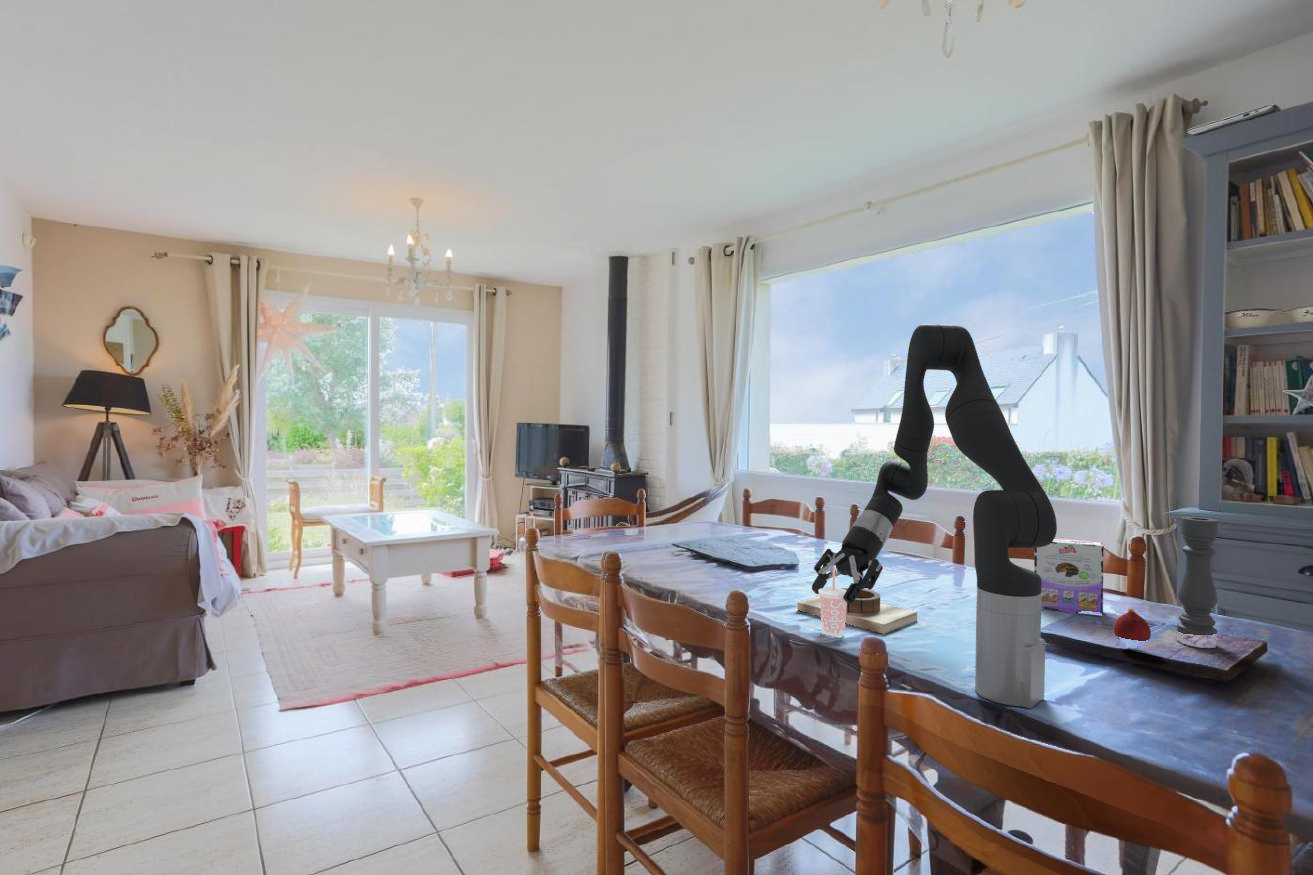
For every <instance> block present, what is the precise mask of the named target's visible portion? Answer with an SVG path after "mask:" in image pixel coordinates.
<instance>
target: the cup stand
mask: <svg viewBox="0 0 1313 875" xmlns="http://www.w3.org/2000/svg"><path fill="white" fill-rule="evenodd" d="M848 588H849V587H841V589H845V590H847V589H848ZM796 606H797V610H800V611H803V612H802V613H804V612H807V613H806V614H808V613H810V614H809V615H811V614H814V615H813V616H815V615H817V616H816V617H819V616H821V608H820V595H818V596H813V597H810V598H808V599H805V600H804V599H803V600H800V601H797V605H796ZM800 611H799V612H800ZM914 622H918V611H916V610H911V609H908V608H903V607H898V606H894V605H890V604H885V603H882V602H881V593H878V592H876V591H874V590H872V589H871V590H868V589H867V588H865V589H863V590H861V591H860V592H859V594H858V596H857V597H856V599H855V600H854V601H853V602H852V603H851V604H848V603H847V609H846V624H845V625H849V624H850V625H849V626H852V625H854V626H853V627H856V626H858V627H857V628H860V627H861V629H864V628H865V629H864V630H867V629H871V630H873V631H872V632H875V631H876V633H880V634H883V635H886V634H888V633H890V632H893V631H896V630H897V629H900V628H903V627H905V626H908V625H910V624H912V623H914ZM871 630H870V631H871Z"/></svg>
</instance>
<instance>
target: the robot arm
mask: <svg viewBox="0 0 1313 875" xmlns="http://www.w3.org/2000/svg"><path fill="white" fill-rule="evenodd" d="M908 344H909V345H908V348H907V349H908V351H907V356H906V357H907V358H906V369H905V378H904V379H905V380H904V388H903V389H904V390H903V399H902V400H903V401H902V409H901V410H902V411H901V417H900V421H899V425H898V429H897V432H896V438H895V441H894V445H893V452H894V454H895V455H896V456H897V457H898V458H900V459H901V460H903V461H905V463H903V462H901V461H898V460H888V461H886V462H885V463H883V464H882V465H881V466H880V469H879V471H878V475H877V480H876V484H875V488H874V491H873V494H872V495H871V498H870V500H869V502H868V503H867V504H866V506H865V507H864V508H863V511H862V512H861V514H860V515H859V516H858V517H857V518H856V519H855V521H854V523H853V525H852V526H851V527H850V529H849V530H848V533H847V534H846V535H845V537H844V539H843V540H842V543H841V549H839V551H838V552H835V551H832V549H831V548H827V549H825V551H824V552H823V554H822V555H821V556H820V558H819V559H818V561H817V563H816V564H815V565H814V567H813V570H814V572H815V573H816V574H817V576H816V578H815V580H814V581H813V583H812V585H811V590H812V592H814V594H816V595H819V591H818V590H819V589H821V588H825V586H826V585H827V583H828V581H829V580H830V579H833V567H835V578H836V577H839V576H840V575H841V576H848V577H849V578H852V581H853V582H851V583H850V585H849V586H848V587H847V588H848V589H847V591H846V593H845V594H844V596H843V599H844V600H845V601H846V603H848V604H851V603H852V602H853V601H854V600H855V599H856V597H857V596H858V594H859V592H860V591H861V590H863V589H867V590H871V591H872V590H873V588H874V587H875V584H876V583H877V581H878V579H879V577H880V575H881V573H882V571H883V569H884V566H883V565H882V564H881V563H880V561H879V560H878V559H877V557H878V555H879V554H880V553H881V551H882V549H883V547H884V546H885V544H886V542H887V541H888V539H889V537H890V535H891V532H892V530H893V529H894V527H895V525H896V523H897V522H898V520H899V518H900V516H901V515H902V513H903V510H904V508H903V504H902V503H901V502H900V500H899V499H898V498H896V497H895V496H894V495H893V494H896V495H897V496H901V497H903V498H904V499H907V500H910V501H916V500H918V499H920V498H922V497H923V495H925V493H926V491H927V489H928V483H929V477H928V476H929V475H928V471H929V470H928V453H929V448H930V444H931V441H932V437H933V434H934V429H935V418H934V414H933V411H932V408H931V405H930V402H929V401H928V398H927V395H926V390H925V376H926V373H927V371H929V370H931V371H932V370H933V371H949V372H950V373H951V374H952V375H953V376H954V379H955V381H956V386H955V388H954V390H953V392H952V393H951V395H950V398H949V399H948V401H947V404H946V406H945V413H944V417H945V421H946V425H947V427H948V429H949V433H950V435H951V438H952V441H953V442H954V445H955V446H956V448H957V449H958V450H959V452H961V453H962V454H963V455H964V456H965V457H966V458H967V459H969V460H970V461H971V462H972V463H973V464H975V465H976V466H977V467H979V468H980V469H982V471H984V472H985V473H987V474H988V475H989V476H990V477H991V478H993V479H994V480H995V482H996V483H998V485H999V486H1000V488H1001V489H990V490H989V489H988V490H984V491H982V492H980V493H979V494H978V495H977V497H976V499H975V501H974V504H973V505H974V506H973V512H972V526H973V528H972V529H973V545H974V546H973V548H974V549H973V550H974V567H975V568H974V569H975V574H976V607H975V608H976V609H975V610H976V612H975V614H976V618H975V620H976V621H975V664H974V666H975V670H974V671H975V675H974V684H975V685H974V687H975V689H974V690H975V692H976V693H977V694H978V695H979V696H980V697H982V698H984V699H987V700H989V701H992V702H993V703H994V702H995V703H998V704H1002V705H1007V706H1011V707H1012V706H1013V707H1014V706H1015V707H1024V708H1025V709H1026V708H1027V709H1032V708H1033V707H1034V706H1036V705H1037V704H1039V703H1040V702H1041V701H1042V700H1044V699H1045V685H1046V684H1045V677H1046V674H1045V673H1046V639H1044V638H1043V637H1041V635H1042V633H1041V632H1042V629H1041V628H1042V609H1041V592H1042V581H1041V577H1040V576H1039V575H1038V574H1037V573H1035V572H1034V570H1030V569H1028V568H1026V567H1023V566H1019V565H1017V564H1015V563H1014V562H1012V561H1011V560H1010V556H1009V554H1010V553H1009V548H1010V549H1018V548H1019V549H1032V548H1033V549H1034V548H1037V547H1044V546H1047V545H1049V544H1050V543H1051V542H1052V541H1053V540H1054V538H1055V539H1056V535H1057V533H1058V532H1057V529H1058V528H1057V527H1058V525H1057V517H1056V514H1055V510H1054V507H1053V505H1052V503H1051V501H1050V499H1049V496H1048V495H1047V493H1046V492H1045V490H1044V488H1043V487H1042V485H1041V483H1040V482H1039V480H1038V479H1037V477H1036V476H1035V474H1034V472H1033V471H1032V469H1031V467H1030V466H1029V465H1028V463H1027V461H1026V460H1025V457H1024V456H1023V454H1022V452H1021V451H1020V449H1019V447H1018V444H1017V443H1016V440H1015V439H1014V436H1013V434H1012V432H1011V430H1010V427H1009V425H1008V422H1007V419H1006V418H1005V416H1004V413H1003V411H1002V409H1001V406H1000V405H999V403H998V402H997V399H996V398H995V395H994V394H993V392H992V390H991V388H990V384H989V383H988V381H987V378H986V376H985V372H984V370H983V368H982V364H981V361H980V359H979V356H978V352H977V348H976V345H975V342H974V340H973V337H972V335H971V334H970V331H969V330H968V329H967V328H965V327H964V326H961V325H959V324H958V325H957V324H943V323H942V324H941V323H922V324H919V325H918V326H917V327H915V329H914V330H913V332H912V335H911V336H910V341H909V343H908ZM906 463H907V464H906ZM889 492H890V493H889ZM891 493H893V494H891ZM865 571H866V572H865ZM864 572H865V574H864Z"/></svg>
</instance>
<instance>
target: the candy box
mask: <svg viewBox="0 0 1313 875" xmlns="http://www.w3.org/2000/svg"><path fill="white" fill-rule="evenodd" d="M1033 549H1034V560H1033V561H1034V562H1033V565H1034V566H1033V568H1034V570H1033V572H1035V573H1037V574H1038V575H1039V576H1040V577H1041V581H1042V592H1041V610H1046V611H1047V610H1049V611H1055V612H1063V613H1070V614H1071V613H1072V614H1078V612H1081V611H1092V612H1100V613H1103V614H1104V544H1103V541H1094V540H1093V541H1092V540H1080V539H1079V540H1078V539H1067V538H1066V539H1065V538H1056V537H1055V538H1054V540H1053V541H1052V542H1051V543H1050V544H1049V545H1047V546H1044V547H1037V548H1033Z"/></svg>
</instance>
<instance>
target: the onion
mask: <svg viewBox="0 0 1313 875" xmlns="http://www.w3.org/2000/svg"><path fill="white" fill-rule="evenodd" d="M1127 610H1128V611H1127V612H1125V613H1124V614H1123V613H1122V614H1121V615H1120V616H1119V617H1118V618H1117V619H1116V620H1115V622H1114V624H1113V627H1112V628H1113V633H1114V635H1115V637H1116V636H1118V637H1121V638H1125V639H1131V640H1138V641H1146V640H1148V641H1150V639H1151V635H1152V632H1151V628H1150V625H1149V623H1148V622H1147V621H1146V619H1144V618H1143V617H1142V616H1141V615H1139V614H1138V613H1137V612H1136V611H1135V610H1134V609H1133V608H1131V607H1129V608H1128V609H1127Z"/></svg>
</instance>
